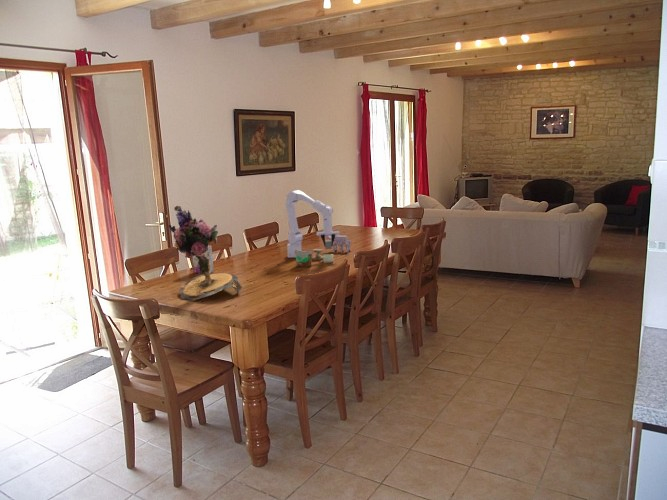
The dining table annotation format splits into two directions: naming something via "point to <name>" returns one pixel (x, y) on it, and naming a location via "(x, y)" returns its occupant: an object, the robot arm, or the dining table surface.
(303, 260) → the food container
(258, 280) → the dining table surface
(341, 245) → the toy sheep
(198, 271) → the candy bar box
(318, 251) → the tan rounded lump
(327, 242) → the gray metal block
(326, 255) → the pale green flanged block
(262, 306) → the dining table surface
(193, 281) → the bouquet
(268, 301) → the dining table surface
